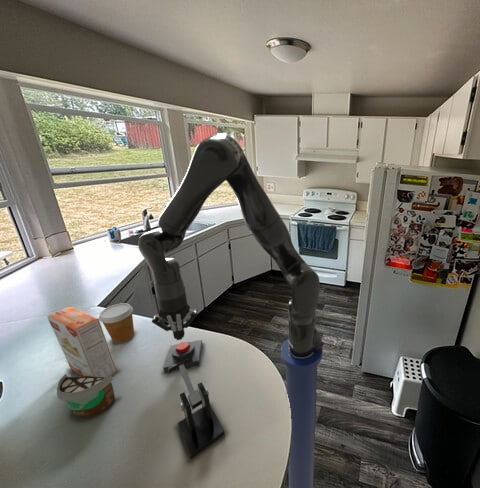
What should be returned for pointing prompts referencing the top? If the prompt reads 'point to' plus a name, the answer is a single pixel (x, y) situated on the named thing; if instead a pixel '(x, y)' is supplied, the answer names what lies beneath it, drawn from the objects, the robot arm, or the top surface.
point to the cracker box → (82, 342)
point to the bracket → (199, 424)
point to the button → (182, 347)
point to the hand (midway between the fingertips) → (180, 338)
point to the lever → (188, 383)
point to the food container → (86, 394)
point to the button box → (184, 355)
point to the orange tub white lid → (118, 322)
